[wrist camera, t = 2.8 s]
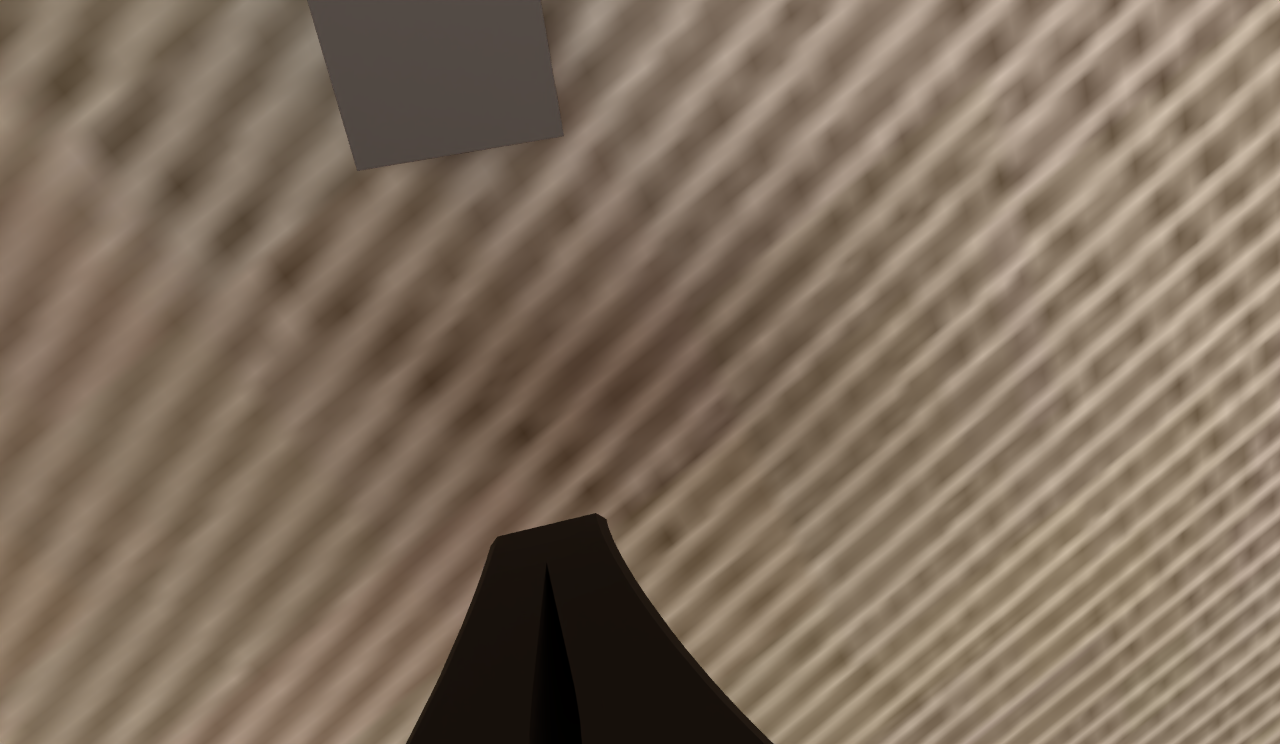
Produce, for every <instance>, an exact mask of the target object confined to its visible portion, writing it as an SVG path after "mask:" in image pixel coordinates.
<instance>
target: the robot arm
mask: <svg viewBox="0 0 1280 744" xmlns="http://www.w3.org/2000/svg"><path fill="white" fill-rule="evenodd" d="M406 744H773V743H772V742H771V741H770V740H769V739H768V738H767V737H766V736H765V735H764V734H763V733H762V732H761V731H760V730H759V729H758V728H757V727H756V726H755V725H754V724H753V723H752V722H751V721H750V720H749V719H748V718H747V717H746V716H745V715H744V714H743V713H742V712H741V711H740V710H739V709H738V708H737V706H736V705H735V704H734V703H733V702H732V701H731V700H730V699H729V698H728V697H727V696H726V695H725V694H724V692H723V691H722V690H721V689H720V688H719V687H718V686H717V685H716V684H715V682H714V681H713V680H712V679H711V678H710V677H709V676H708V674H707V673H706V672H705V671H704V670H703V669H702V667H701V666H700V665H699V664H698V663H697V661H696V660H695V659H694V658H693V657H692V656H691V654H690V653H689V652H688V651H687V650H686V648H685V647H684V646H683V645H682V643H681V642H680V641H679V640H678V638H677V637H676V636H675V634H674V633H673V632H672V631H671V629H670V628H669V627H668V625H667V624H666V622H665V621H664V620H663V618H662V617H661V616H660V614H659V613H658V611H657V610H656V609H655V607H654V606H653V605H652V603H651V602H650V600H649V599H648V598H647V596H646V595H645V593H644V592H643V590H642V589H641V587H640V586H639V584H638V583H637V581H636V580H635V578H634V576H633V575H632V573H631V571H630V570H629V568H628V566H627V565H626V563H625V561H624V560H623V558H622V556H621V554H620V552H619V550H618V548H617V546H616V544H615V542H614V540H613V538H612V535H611V533H610V530H609V528H608V524H607V520H606V519H605V518H603V517H602V516H600V515H598V514H596V513H594V514H590V515H586V516H582V517H578V518H574V519H569V520H565V521H561V522H557V523H553V524H548V525H544V526H540V527H536V528H532V529H528V530H523V531H519V532H515V533H511V534H507V535H503V536H498V537H497V538H496V539H495V541H494V542H493V544H492V545H491V547H490V550H489V553H488V556H487V560H486V563H485V566H484V569H483V572H482V574H481V577H480V580H479V583H478V586H477V588H476V591H475V594H474V596H473V599H472V602H471V604H470V607H469V609H468V612H467V614H466V617H465V619H464V622H463V624H462V627H461V629H460V631H459V633H458V636H457V638H456V640H455V643H454V645H453V647H452V649H451V652H450V654H449V656H448V659H447V661H446V663H445V665H444V668H443V670H442V672H441V675H440V677H439V679H438V681H437V683H436V685H435V687H434V689H433V691H432V693H431V695H430V697H429V699H428V701H427V703H426V705H425V707H424V709H423V711H422V713H421V715H420V717H419V719H418V721H417V723H416V725H415V727H414V729H413V731H412V733H411V735H410V737H409V739H408V741H407V743H406Z"/></svg>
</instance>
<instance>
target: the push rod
mask: <svg viewBox="0 0 1280 744" xmlns="http://www.w3.org/2000/svg"><path fill="white" fill-rule="evenodd" d="M307 1H308V4H309V8H310V11H311V15H312V18H313V21H314V25H315V28H316V32H317V35H318V39H319V42H320V45H321V49H322V52H323V56H324V59H325V62H326V66H327V69H328V73H329V76H330V80H331V83H332V86H333V90H334V93H335V97H336V100H337V103H338V107H339V110H340V114H341V117H342V120H343V124H344V127H345V131H346V134H347V138H348V141H349V144H350V148H351V151H352V155H353V158H354V161H355V165H356V168H357V171H360V170H366V169H372V168H378V167H384V166H390V165H395V164H401V163H407V162H413V161H419V160H425V159H431V158H437V157H443V156H449V155H455V154H461V153H467V152H473V151H479V150H485V149H491V148H496V147H502V146H508V145H514V144H520V143H526V142H532V141H538V140H544V139H550V138H556V137H562V136H564V134H563V128H562V122H561V116H560V110H559V105H558V99H557V93H556V87H555V81H554V75H553V70H552V64H551V58H550V52H549V46H548V40H547V35H546V29H545V23H544V17H543V11H542V6H541V0H307Z"/></svg>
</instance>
